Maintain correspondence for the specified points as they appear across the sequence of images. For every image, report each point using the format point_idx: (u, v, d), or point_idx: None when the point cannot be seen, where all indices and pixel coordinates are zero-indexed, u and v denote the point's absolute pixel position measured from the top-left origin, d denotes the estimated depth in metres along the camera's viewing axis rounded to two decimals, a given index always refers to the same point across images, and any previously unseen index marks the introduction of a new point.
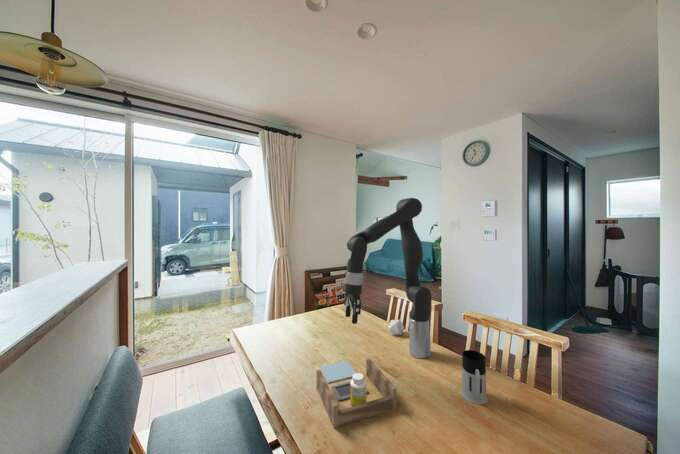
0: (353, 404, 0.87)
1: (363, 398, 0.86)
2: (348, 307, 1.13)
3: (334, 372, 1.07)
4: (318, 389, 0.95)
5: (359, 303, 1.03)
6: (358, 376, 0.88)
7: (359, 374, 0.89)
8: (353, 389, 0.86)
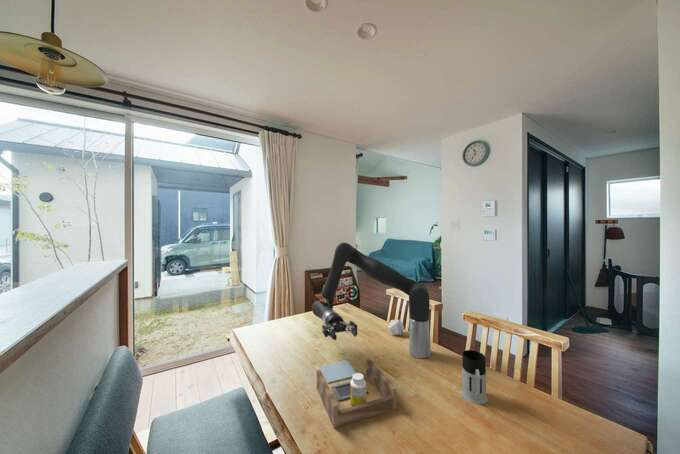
0: (353, 404, 0.87)
1: (363, 398, 0.86)
2: (351, 330, 1.04)
3: (334, 372, 1.07)
4: (318, 389, 0.95)
5: (322, 328, 1.05)
6: (358, 376, 0.88)
7: (359, 374, 0.89)
8: (353, 389, 0.86)
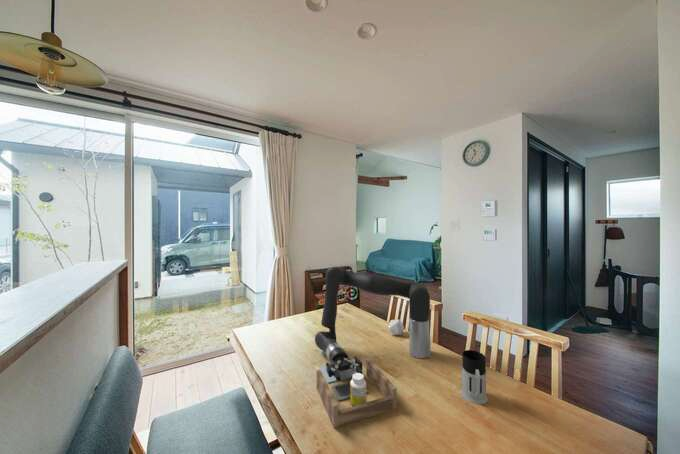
0: (353, 404, 0.87)
1: (363, 398, 0.86)
2: (356, 368, 1.00)
3: None
4: (318, 389, 0.95)
5: (326, 366, 1.01)
6: (358, 376, 0.88)
7: (359, 374, 0.89)
8: (353, 389, 0.86)
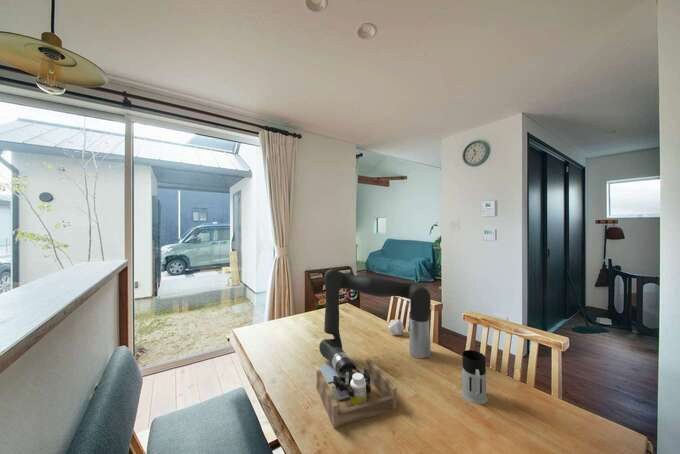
0: (353, 404, 0.87)
1: (363, 398, 0.86)
2: None
3: (334, 372, 1.07)
4: (318, 389, 0.95)
5: (334, 380, 0.92)
6: (358, 376, 0.88)
7: (359, 374, 0.89)
8: (353, 389, 0.86)
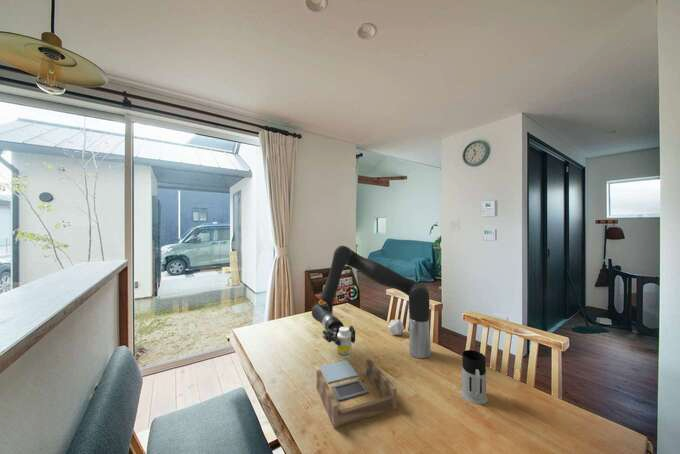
0: (339, 352, 0.99)
1: (348, 347, 0.98)
2: None
3: (334, 372, 1.07)
4: (318, 389, 0.95)
5: (323, 333, 1.04)
6: (344, 329, 1.00)
7: (345, 327, 1.01)
8: (340, 339, 0.98)
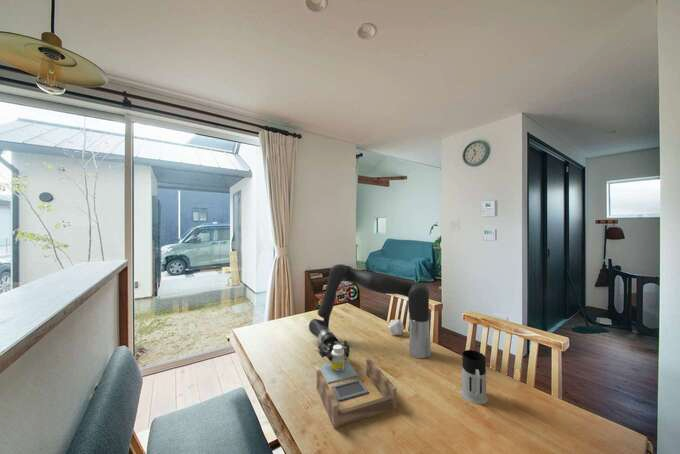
0: (333, 369, 1.07)
1: (341, 364, 1.06)
2: None
3: None
4: (318, 389, 0.95)
5: (318, 348, 1.12)
6: (337, 346, 1.08)
7: (339, 345, 1.09)
8: (333, 357, 1.06)
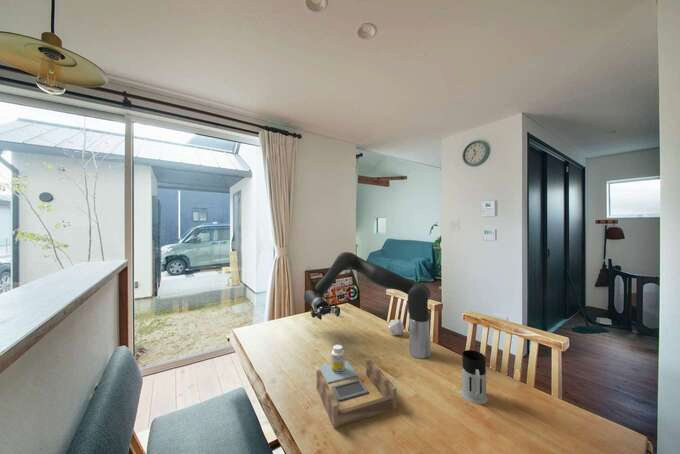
0: (333, 369, 1.07)
1: (341, 364, 1.06)
2: (335, 312, 1.23)
3: None
4: (318, 389, 0.95)
5: None
6: (338, 347, 1.08)
7: (339, 345, 1.09)
8: (333, 357, 1.06)
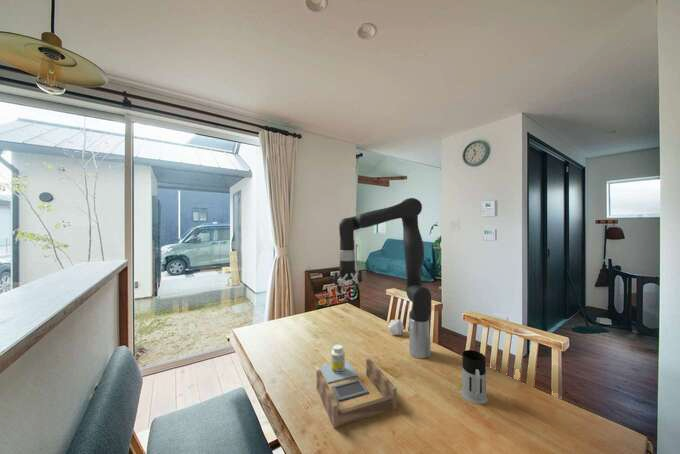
0: (333, 369, 1.07)
1: (341, 364, 1.06)
2: (355, 282, 1.24)
3: None
4: (318, 389, 0.95)
5: (334, 275, 1.20)
6: (338, 347, 1.08)
7: (339, 345, 1.09)
8: (333, 357, 1.06)
